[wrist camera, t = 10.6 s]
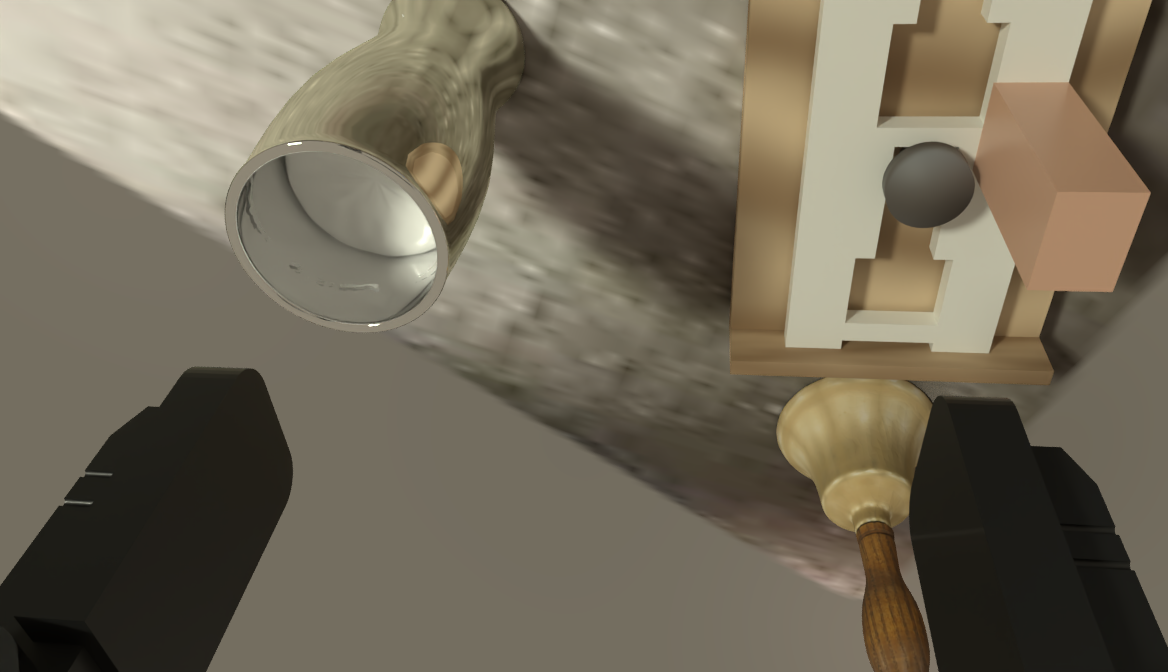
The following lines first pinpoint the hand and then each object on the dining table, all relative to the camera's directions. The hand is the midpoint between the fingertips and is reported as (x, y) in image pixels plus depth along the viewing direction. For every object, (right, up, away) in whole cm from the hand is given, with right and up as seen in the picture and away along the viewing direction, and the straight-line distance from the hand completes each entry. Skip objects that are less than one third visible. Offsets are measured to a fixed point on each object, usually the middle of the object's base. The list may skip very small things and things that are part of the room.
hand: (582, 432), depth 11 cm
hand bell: (+15, -4, +38) cm, 40 cm away
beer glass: (-5, +13, +27) cm, 30 cm away
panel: (+13, +9, +24) cm, 29 cm away
